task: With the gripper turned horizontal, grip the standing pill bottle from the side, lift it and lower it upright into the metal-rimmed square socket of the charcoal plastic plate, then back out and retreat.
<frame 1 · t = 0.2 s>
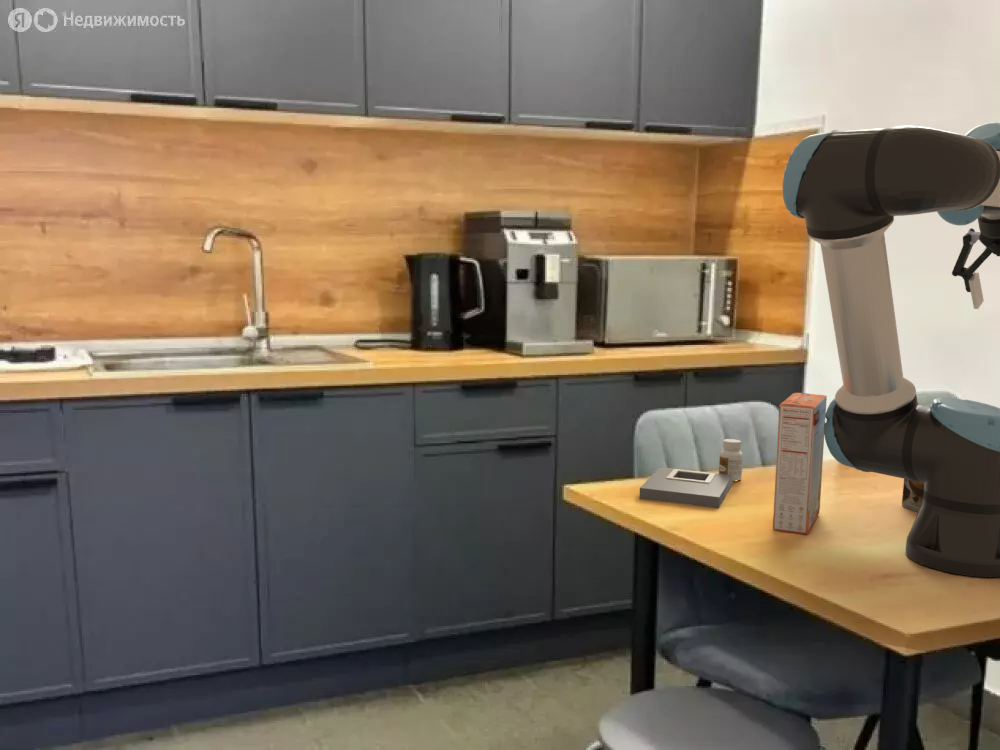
coffee box: (932, 513, 166), on the table
cracker box: (795, 523, 157), on the table
pill bottle: (729, 480, 186), on the table
socket plate: (687, 491, 175), on the table
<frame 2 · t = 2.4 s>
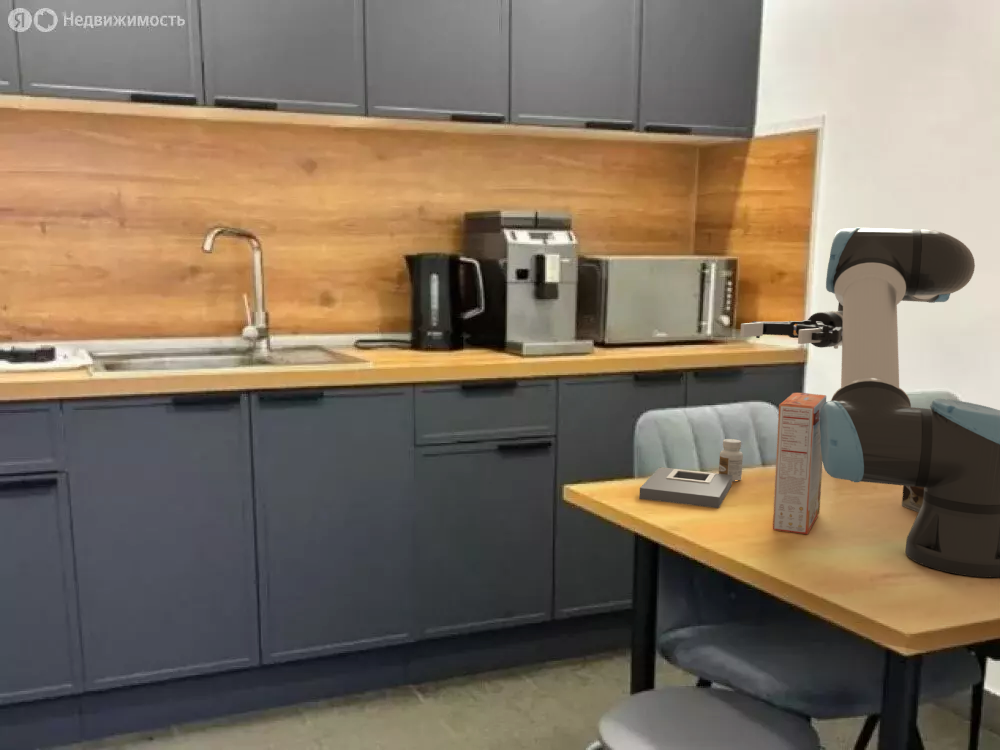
hand: (770, 333, 188), 28 cm above the table, tool horizontal, fingers open, 13 cm apart
cracker box: (795, 523, 157), on the table, touching arm
everything else where it was.
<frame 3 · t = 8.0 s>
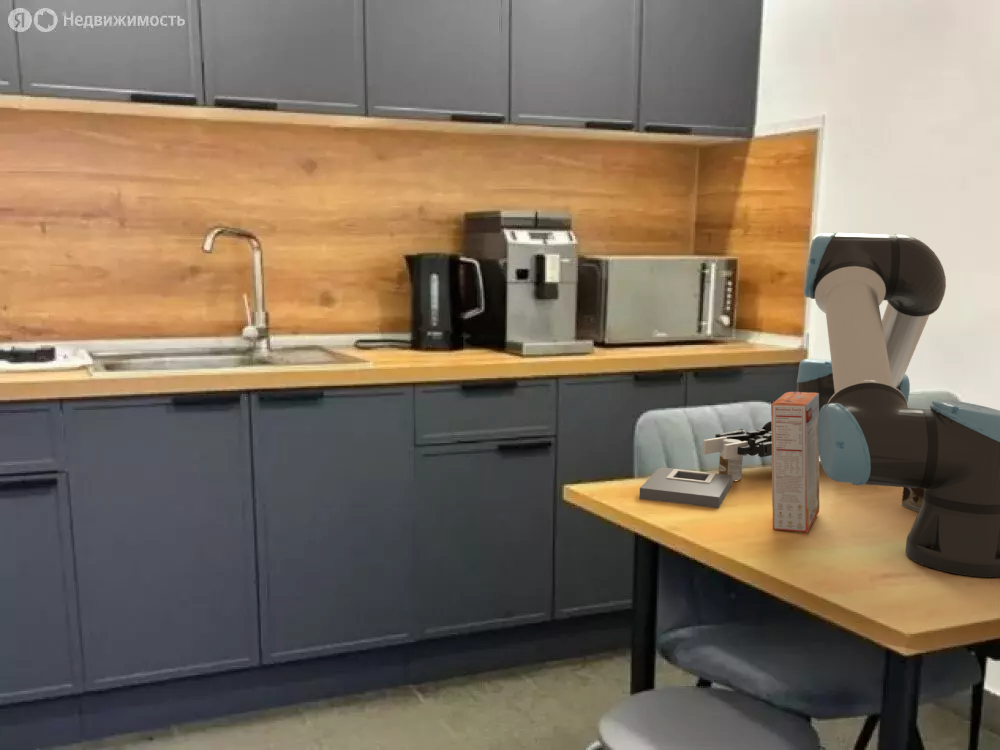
hand: (714, 449, 181), 7 cm above the table, tool horizontal, fingers closed on pill bottle, 4 cm apart
pill bottle: (729, 480, 186), on the table, touching gripper
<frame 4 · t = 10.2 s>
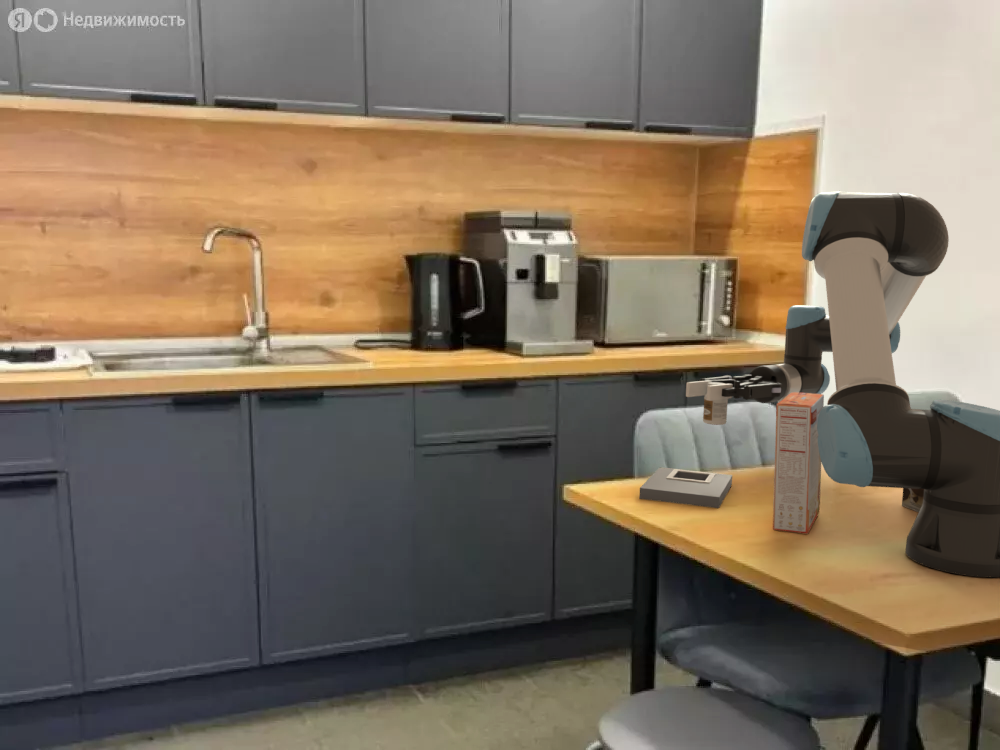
hand: (698, 391, 177), 18 cm above the table, tool horizontal, fingers closed on pill bottle, 4 cm apart
cracker box: (795, 523, 157), on the table
pill bottle: (714, 424, 181), point 11 cm above the table, touching gripper
everything else where it was.
when the fingers open (8 cm above the table, at t = 12.6 s): pill bottle drops 1 cm, resting in socket plate.
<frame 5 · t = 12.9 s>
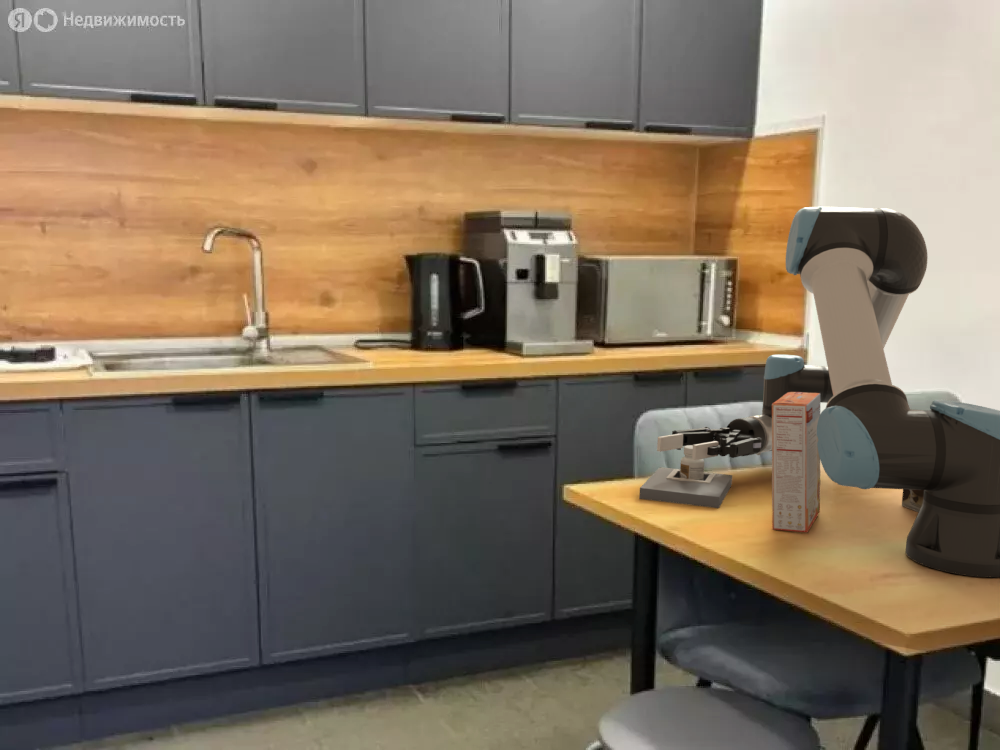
hand: (676, 448, 174), 8 cm above the table, tool horizontal, fingers open, 8 cm apart
cracker box: (795, 522, 157), on the table, touching arm
pill bottle: (691, 488, 178), resting in socket plate
everything else where it was.
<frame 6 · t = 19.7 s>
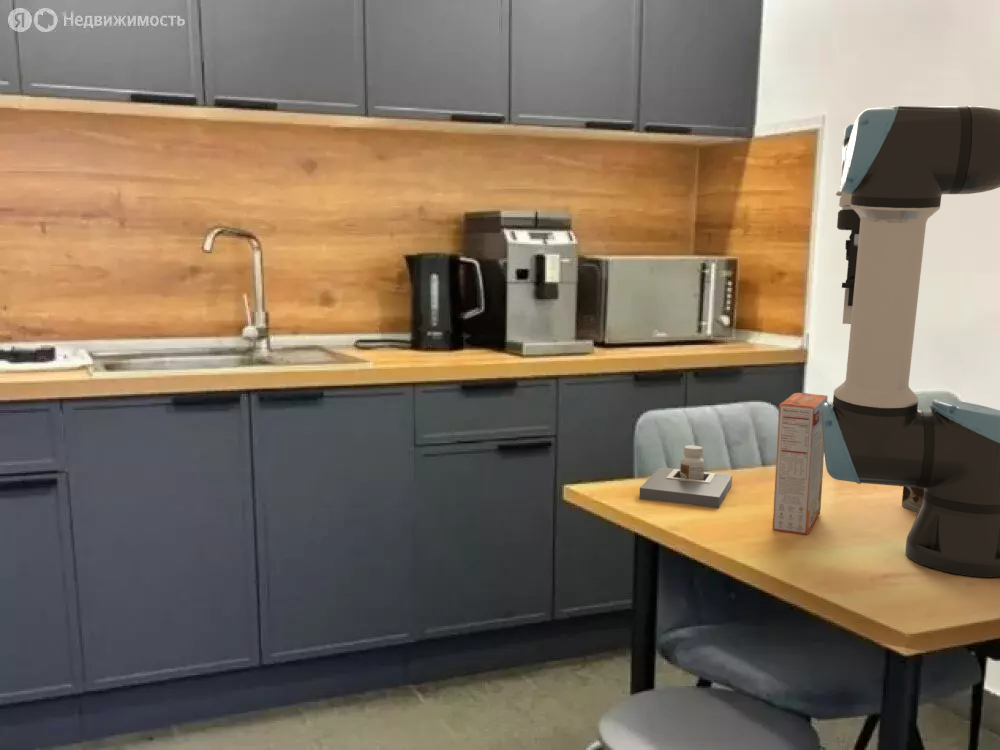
hand: (850, 321, 180), 32 cm above the table, tool pointing down, fingers open, 13 cm apart
cracker box: (795, 523, 157), on the table
everything else where it was.
at the end: pill bottle 0.1 cm from the target spot on the socket plate, point 0.0 cm above the socket plate's base; pill bottle tilted 0°; the gripper is holding nothing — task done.
